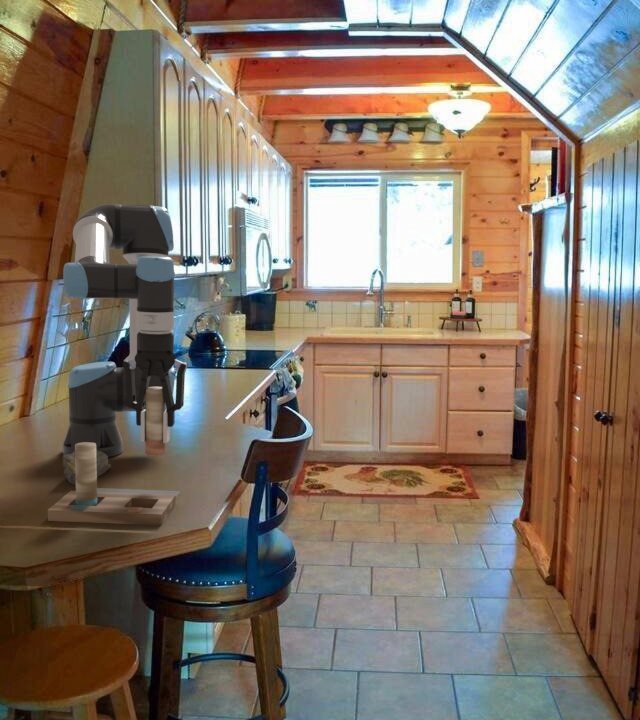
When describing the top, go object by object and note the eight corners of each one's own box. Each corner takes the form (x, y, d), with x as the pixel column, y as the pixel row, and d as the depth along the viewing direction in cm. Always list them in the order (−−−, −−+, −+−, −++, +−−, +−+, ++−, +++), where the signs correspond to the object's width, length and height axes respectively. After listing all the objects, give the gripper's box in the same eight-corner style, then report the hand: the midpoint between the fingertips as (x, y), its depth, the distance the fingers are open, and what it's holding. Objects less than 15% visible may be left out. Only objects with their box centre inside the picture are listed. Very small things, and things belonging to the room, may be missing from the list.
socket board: (70, 502, 154) (70, 489, 154) (175, 506, 154) (175, 493, 153) (47, 522, 143) (47, 508, 142) (161, 526, 142) (161, 513, 142)
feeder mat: (90, 489, 163) (90, 487, 163) (180, 492, 163) (180, 491, 163) (77, 501, 155) (77, 499, 155) (172, 504, 155) (172, 502, 155)
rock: (106, 469, 164) (60, 458, 162) (98, 497, 165) (52, 486, 163) (116, 446, 180) (75, 436, 179) (109, 472, 181) (68, 462, 180)
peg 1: (100, 510, 150) (99, 442, 149) (93, 516, 146) (92, 447, 144) (80, 509, 150) (78, 441, 149) (73, 516, 146) (71, 446, 145)
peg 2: (148, 449, 160) (148, 386, 158) (167, 450, 160) (167, 386, 158) (143, 455, 156) (143, 389, 154) (162, 456, 156) (162, 390, 154)
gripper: (108, 332, 151) (110, 443, 154) (192, 335, 150) (191, 447, 154) (120, 327, 158) (120, 434, 162) (199, 331, 158) (198, 438, 161)
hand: (155, 440), depth 158 cm, fingers closed on peg 2, 4 cm apart
